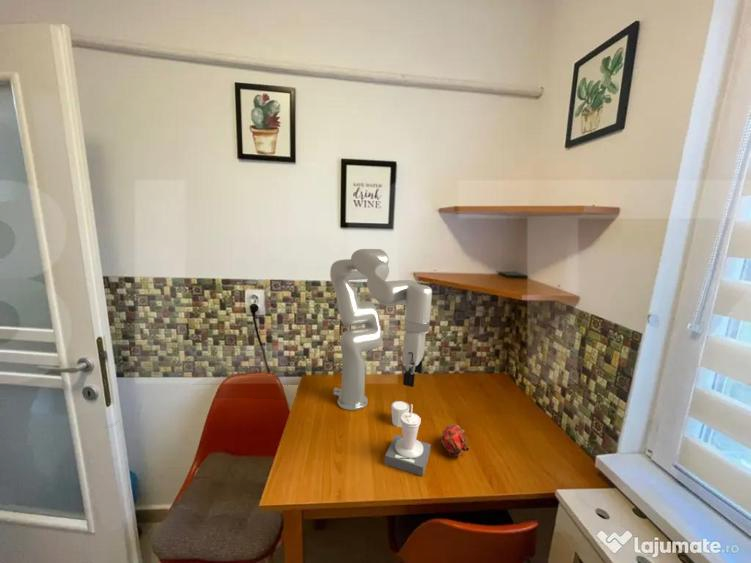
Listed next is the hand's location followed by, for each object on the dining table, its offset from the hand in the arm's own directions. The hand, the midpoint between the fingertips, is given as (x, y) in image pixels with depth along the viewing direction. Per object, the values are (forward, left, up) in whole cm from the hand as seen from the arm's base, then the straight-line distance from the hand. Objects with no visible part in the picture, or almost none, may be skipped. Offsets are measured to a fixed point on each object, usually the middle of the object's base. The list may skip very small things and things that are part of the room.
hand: (412, 378), depth 97 cm
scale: (+1, -1, -27) cm, 27 cm away
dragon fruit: (+14, +9, -27) cm, 31 cm away
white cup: (-7, +16, -27) cm, 32 cm away
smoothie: (0, -1, -23) cm, 23 cm away
